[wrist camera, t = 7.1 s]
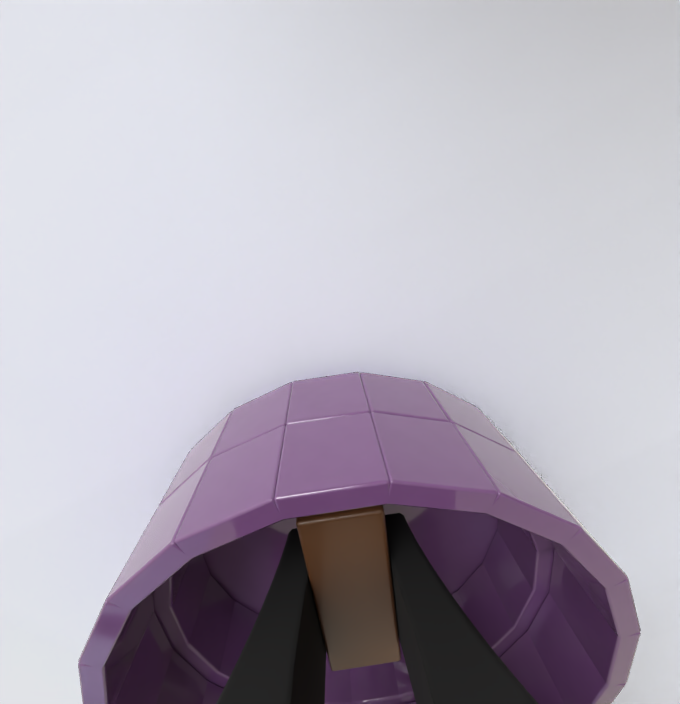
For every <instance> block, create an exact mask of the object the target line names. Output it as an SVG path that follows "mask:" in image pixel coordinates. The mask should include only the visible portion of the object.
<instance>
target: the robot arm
mask: <svg viewBox="0 0 680 704" xmlns="http://www.w3.org/2000/svg"><path fill="white" fill-rule="evenodd" d="M385 521H386V530H387V538H388V547H389V556H390V565H391V573H392V582H393V591H394V600H395V609H396V617H397V626H398V635H399V640H400V644H401V647H402V651H403V655H404V659H405V662H406V666H407V670H408V674H409V678H410V681H411V685H412V689H413V693H414V697H415V700H416V704H538V702H537V701H536V700H535V699H534V698H533V697H532V696H531V694H530V693H529V692H528V691H527V690H526V689H525V687H524V686H523V685H522V684H521V683H520V682H519V681H518V679H517V678H516V677H515V676H514V675H513V673H512V672H511V671H510V670H509V669H508V667H507V666H506V665H505V664H504V663H503V661H502V660H501V659H500V658H499V657H498V655H497V654H496V653H495V652H494V650H493V649H492V648H491V647H490V645H489V644H488V643H487V642H486V640H485V639H484V638H483V636H482V635H481V634H480V633H479V631H478V630H477V629H476V627H475V626H474V625H473V623H472V622H471V621H470V619H469V618H468V617H467V615H466V614H465V613H464V611H463V610H462V609H461V607H460V606H459V605H458V603H457V602H456V600H455V599H454V598H453V596H452V595H451V593H450V592H449V590H448V589H447V587H446V586H445V584H444V583H443V582H442V580H441V579H440V577H439V576H438V574H437V573H436V571H435V570H434V568H433V567H432V565H431V563H430V562H429V560H428V559H427V557H426V555H425V554H424V552H423V550H422V549H421V547H420V546H419V544H418V542H417V540H416V539H415V537H414V535H413V533H412V531H411V529H410V527H409V525H408V523H407V521H406V519H405V517H404V515H403V514H401V513H394V514H388V515H385ZM325 676H326V647H325V643H324V639H323V635H322V631H321V627H320V622H319V618H318V614H317V610H316V606H315V601H314V597H313V593H312V589H311V585H310V581H309V576H308V572H307V568H306V564H305V560H304V555H303V551H302V547H301V543H300V539H299V534H298V530H297V528H295V529H292V530H291V531H290V532H289V534H288V537H287V541H286V544H285V547H284V550H283V553H282V556H281V559H280V562H279V565H278V568H277V570H276V573H275V576H274V578H273V581H272V584H271V586H270V588H269V591H268V593H267V596H266V598H265V601H264V603H263V605H262V608H261V610H260V613H259V615H258V617H257V620H256V622H255V624H254V626H253V629H252V631H251V633H250V635H249V637H248V639H247V642H246V644H245V646H244V648H243V650H242V652H241V655H240V657H239V659H238V661H237V663H236V665H235V667H234V669H233V671H232V673H231V675H230V677H229V679H228V681H227V683H226V685H225V687H224V689H223V691H222V693H221V695H220V697H219V699H218V700H217V702H216V704H325Z"/></svg>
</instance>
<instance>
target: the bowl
mask: <svg viewBox="0 0 680 704" xmlns="http://www.w3.org/2000/svg"><path fill="white" fill-rule="evenodd" d="M378 505H383V507H384V512H385V515H388V514H394V513H401V514H403V515H404V517H405V519H406V521H407V523H408V525H409V527H410V529H411V531H412V533H413V535H414V537H415V539H416V540H417V542H418V544H419V546H420V547H421V549H422V550H423V552H424V554H425V555H426V557H427V559H428V560H429V562H430V563H431V565H432V567H433V568H434V570H435V571H436V573H437V574H438V576H439V577H440V579H441V580H442V582H443V583H444V584H445V586H446V587H447V589H448V590H449V592H450V593H451V595H452V596H453V598H454V599H455V600H456V602H457V603H458V605H459V606H460V607H461V609H462V610H463V611H464V613H465V614H466V615H467V617H468V618H469V619H470V621H471V622H472V623H473V625H474V626H475V627H476V629H477V630H478V631H479V633H480V634H481V635H482V636H483V638H484V639H485V640H486V642H487V643H488V644H489V645H490V647H491V648H492V649H493V650H494V652H495V653H496V654H497V655H498V657H499V658H500V659H501V660H502V661H503V663H504V664H505V665H506V666H507V667H508V669H509V670H510V671H511V672H512V673H513V675H514V676H515V677H516V678H517V679H518V681H519V682H520V683H521V684H522V685H523V686H524V687H525V689H526V690H527V691H528V692H529V693H530V694H531V696H532V697H533V698H534V699H535V700H536V701H537V702H538V704H611V703H612V702H613V701H614V699H615V698H616V697H617V695H618V694H619V693H620V691H621V690H622V689H623V687H624V686H625V683H626V682H627V680H628V676H629V673H630V669H631V666H632V662H633V659H634V655H635V652H636V648H637V645H638V641H639V637H640V631H641V630H640V625H639V621H638V617H637V613H636V609H635V604H634V600H633V596H632V592H631V588H630V583H629V579H628V577H627V575H626V574H625V572H624V571H623V570H622V569H621V568H620V567H619V566H618V565H617V563H616V562H615V561H614V560H613V559H612V558H611V557H610V555H609V554H608V553H607V552H606V551H605V550H604V549H603V547H602V546H601V545H600V544H599V543H598V542H597V541H596V540H595V538H594V537H593V536H592V535H591V534H590V533H589V532H588V530H587V529H586V528H585V527H584V526H583V525H582V524H581V522H580V521H579V520H578V519H577V518H576V517H575V516H574V515H573V513H572V512H571V511H570V510H569V509H568V508H567V507H566V505H565V504H564V503H563V502H562V501H561V500H560V499H559V497H558V496H557V495H556V494H555V493H554V492H553V491H552V490H551V488H550V487H549V486H548V485H547V484H546V483H545V482H544V480H543V479H542V478H541V477H540V476H539V475H538V474H537V473H536V471H535V470H534V469H533V468H532V467H531V466H530V465H529V463H528V462H527V461H526V460H525V459H524V458H523V457H522V455H521V454H520V453H519V452H518V451H517V450H516V449H515V447H514V446H513V445H512V444H511V443H510V442H509V441H508V440H507V439H506V438H505V436H504V435H503V434H502V433H501V432H500V431H499V430H498V429H497V428H496V427H495V426H494V425H493V424H492V422H491V421H490V420H489V419H488V418H487V417H486V416H485V415H484V414H483V413H482V412H481V411H480V410H479V409H478V408H477V407H476V406H474V405H472V404H470V403H468V402H466V401H464V400H462V399H460V398H458V397H456V396H454V395H452V394H450V393H448V392H446V391H444V390H442V389H440V388H438V387H436V386H434V385H432V384H430V383H428V382H425V381H424V382H422V381H418V380H411V379H404V378H397V377H390V376H383V375H376V374H369V373H359V372H353V373H347V374H340V375H333V376H326V377H319V378H313V379H306V380H299V381H294V382H293V383H292V382H291V383H288V384H286V385H284V386H282V387H280V388H278V389H275V390H273V391H271V392H269V393H267V394H265V395H263V396H260V397H258V398H256V399H254V400H252V401H250V402H248V403H246V404H243V405H241V406H239V407H237V408H235V409H234V410H233V411H231V412H230V413H229V414H228V415H226V416H225V417H224V418H223V419H222V420H221V421H220V422H219V423H218V424H217V425H216V426H215V427H214V428H213V429H212V430H211V431H210V432H209V433H208V434H207V435H205V436H204V437H203V438H202V439H201V440H200V441H199V442H198V443H197V444H196V445H195V446H194V447H193V448H192V449H191V451H190V452H189V453H188V455H187V456H186V458H185V460H184V462H183V463H182V465H181V467H180V469H179V471H178V472H177V474H176V476H175V478H174V479H173V481H172V483H171V485H170V487H169V488H168V490H167V492H166V494H165V495H164V497H163V499H162V501H161V503H160V504H159V506H158V508H157V509H156V511H155V513H154V515H153V517H152V518H151V520H150V522H149V524H148V525H147V527H146V529H145V531H144V533H143V534H142V536H141V538H140V540H139V541H138V543H137V545H136V547H135V549H134V550H133V552H132V554H131V556H130V557H129V559H128V561H127V563H126V564H125V566H124V568H123V570H122V572H121V573H120V575H119V577H118V579H117V580H116V582H115V584H114V586H113V588H112V589H111V591H110V593H109V595H108V596H107V598H106V600H105V602H104V604H103V606H102V609H101V611H100V613H99V615H98V618H97V620H96V622H95V624H94V627H93V629H92V631H91V633H90V635H89V638H88V640H87V642H86V644H85V647H84V649H83V651H82V653H81V656H80V658H79V661H78V662H79V663H78V668H79V677H80V685H81V693H82V701H83V704H216V702H217V700H218V699H219V697H220V695H221V693H222V691H223V689H224V687H225V685H226V683H227V681H228V679H229V677H230V675H231V673H232V671H233V669H234V667H235V665H236V663H237V661H238V659H239V657H240V655H241V652H242V650H243V648H244V646H245V644H246V642H247V639H248V637H249V635H250V633H251V631H252V629H253V626H254V624H255V622H256V620H257V617H258V615H259V613H260V610H261V608H262V605H263V603H264V601H265V598H266V596H267V593H268V591H269V588H270V586H271V584H272V581H273V578H274V576H275V573H276V570H277V568H278V565H279V562H280V559H281V556H282V553H283V550H284V547H285V544H286V541H287V537H288V534H289V532H290V531H291V530H292V529H295V528H297V526H296V518H299V517H306V516H312V515H319V514H326V513H332V512H339V511H345V510H352V509H359V508H365V507H372V506H378ZM399 644H400V640H399ZM400 652H401V659H400V660H399V661H397V662H390V663H384V664H377V665H371V666H364V667H358V668H351V669H345V670H339V671H332V670H331V668H330V664H329V660H328V656H327V652H326V676H325V704H416V700H415V697H414V693H413V689H412V685H411V681H410V678H409V674H408V670H407V666H406V662H405V659H404V655H403V651H402V647H401V644H400Z"/></svg>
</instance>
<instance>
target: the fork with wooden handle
mask: <svg viewBox="0 0 680 704" xmlns="http://www.w3.org/2000/svg"><path fill="white" fill-rule="evenodd" d="M296 526H297V530H298V534H299V539H300V543H301V547H302V551H303V555H304V560H305V564H306V568H307V572H308V576H309V581H310V585H311V589H312V593H313V597H314V601H315V606H316V610H317V614H318V618H319V622H320V627H321V631H322V635H323V639H324V643H325V647H326V652H327V656H328V660H329V664H330V668H331V670H332V671H339V670H345V669H351V668H358V667H364V666H371V665H377V664H384V663H390V662H397V661H399V660H400V659H401V652H400V644H399V635H398V626H397V617H396V609H395V600H394V591H393V582H392V573H391V565H390V556H389V547H388V538H387V530H386V521H385V512H384V507H383V505H378V506H372V507H365V508H359V509H352V510H345V511H339V512H332V513H326V514H319V515H312V516H306V517H299V518H296Z"/></svg>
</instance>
